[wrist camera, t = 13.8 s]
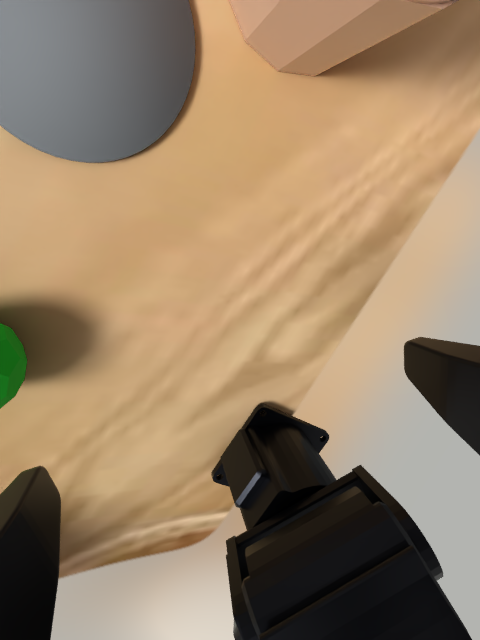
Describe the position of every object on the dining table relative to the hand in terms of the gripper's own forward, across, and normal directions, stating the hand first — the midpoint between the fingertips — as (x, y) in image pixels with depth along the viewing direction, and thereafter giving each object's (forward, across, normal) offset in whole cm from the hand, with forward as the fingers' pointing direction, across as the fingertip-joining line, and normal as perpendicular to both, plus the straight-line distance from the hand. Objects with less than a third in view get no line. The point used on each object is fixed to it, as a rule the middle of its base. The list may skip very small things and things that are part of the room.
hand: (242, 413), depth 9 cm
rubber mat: (+13, +1, -11) cm, 17 cm away
